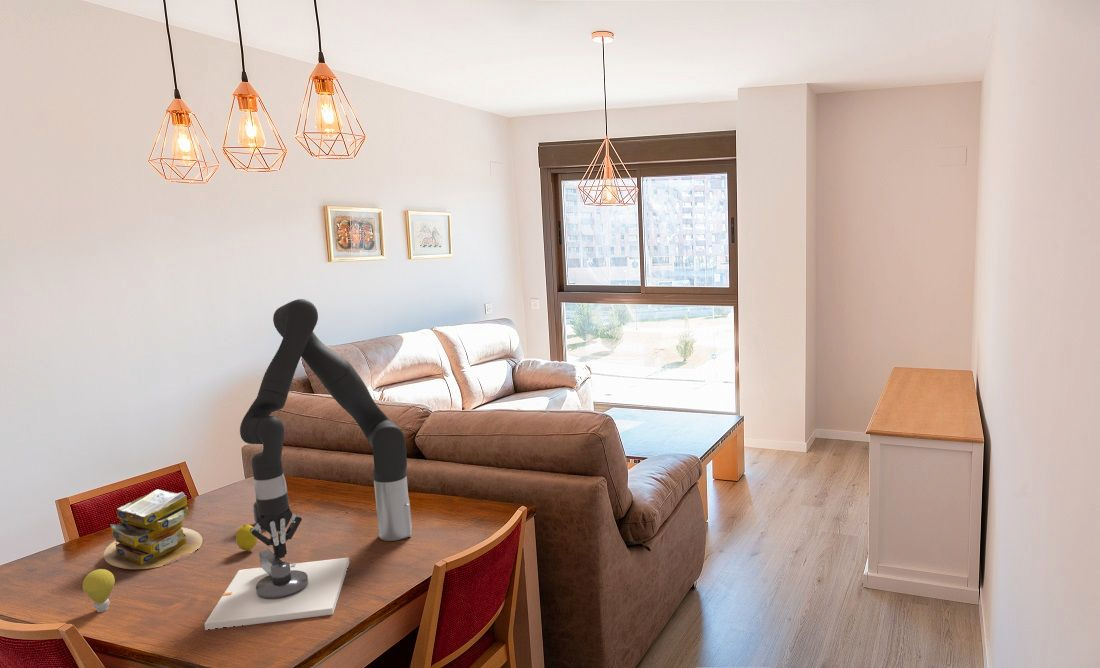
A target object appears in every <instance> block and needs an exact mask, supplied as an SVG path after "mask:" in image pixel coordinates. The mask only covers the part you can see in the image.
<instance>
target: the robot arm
mask: <svg viewBox="0 0 1100 668" xmlns="http://www.w3.org/2000/svg"><path fill="white" fill-rule="evenodd" d="M272 319H273V320H272V321H273V325H274V327H275V329H276V331H277V333H278V334H279V335H280V337H282V340H281V343H280V345H279V347H278V349H277V351H276V352H275V354H274V356H273V357H272V359H271V360H270V363H269V365H268V366H267V368H266V369H265V370H266V371H265V372H264V375H263V377H262V380H261V382H260V386H259V389H258V393H257V396H256V398H255V400H254V401H253V402H252V404H250V407H249V409H248V410H247V412H246V413H245V415H244V417H243V418H242V420H241V423H240V427H239V435H240V439H241V440H242V441H243V442H244V443H246V444H249V445H262V447H263V449H262V451H261V452H259V453H256V454H254V455H253V457H251V468H252V473H253V481H254V482H253V483H254V484H253V488H254V494H255V502H257V509H258V520H257V525H256V524H255V526H253V527H254V528H251V529H250V532H251V533H252V534H253V535H254V536H255V537H256V538H257V540H259V541H261V542H262V543H263V544H265V545H266V546H268V547H270V546H272V548H273V549H272V550H273V553H274V554H275V555H276V556H277V557H278V558H279V559H280V560H281V559H283V558H285V557H286V556H285V555H287V553H288V552H287V544H286V543H287V541H288V540H291V539H292V538H293V536H294V535H295V533H296V531H297V530H298V527H299V526H300V524H301V522H302V520H303V519H302V517H301V516H300V515H298V514H294V513H293V511H292V510H291V508H290V501H289V495H288V494H289V493H288V486H287V481H286V477H285V475H284V474H285V473H284V469H283V468H284V467H283V463H282V453H283V447H284V446H283V445H284V439H285V427H284V423H283V421H281V419H280V418H279V417H277V416H275V415H274V416H273V415H271V414H273V413H274V412H277V411H279V410H282V409H284V407H285V405H286V402H287V399H288V397H289V391H290V389H291V385H292V382H293V379H294V376H295V373H296V371H297V368H298V365H299V363H300V360H301V358H302V359H303V361H304V362H305V363H306V365H307V366H308V368H310V370H311V371H312V372H313V373H314V375H315V376H316V377H317V379H319V381H320V382H321V384H322V385H323V387H324V388H325V389H326V390H327V392H328V394H330V395H331V397H332V398H333V399H334V401H336V403H338V404H339V406H340V407H342V408H343V410H345V412H347V414H349V415H350V416H351V417H352V418H353V419H354V421H355V422H356V423H357V425H358V426H359V428H360V429H361V431H362V433H363V435H364V436H365V438H366V439H367V441H368V444H369V445H370V447H371V448H372V455H373V456H372V457H373V470H372V473H373V474H372V475H373V487H374V496H375V497H374V498H375V506H376V517H377V527H378V538H379V539H380V540H382V541H386V542H387V541H388V542H391V541H392V542H394V541H399V540H403V539H406V538H409V537H410V538H411V537H412V532H413V524H412V514H411V502H410V498H409V492H408V491H409V489H408V477H407V467H408V463H407V462H408V461H407V460H408V458H407V446H406V445H407V444H406V438H405V435H404V432H403V430H402V429H401V428H400V427H399V426H398V425H397V424H396V423H394V422H393V421H392V420H391V419H390V418H389V417H388V416H387V415H386V414H385V413H384V412H383V411H382V409H381V408H380V407H379V406H378V405H377V403H376V402H375V400H374V399H373V397H372V394H371V392H370V390H369V389H368V387H367V385H366V384H365V382H364V381H363V379H362V378H361V376H360V375H359V374H358V372H357V371H356V369H355V368H354V366H353V365H352V364H351V363H350V362H349V361H348V360H347V358H344V357H343V356H342V355H340V354H339V353H338V352H336V351H334V350H333V349H331V348H329V347H328V346H327V345H325V343H323V341H321V340H320V339H319V338H318V337H317V335H316V334H315V332H314V330H315V328H316V325H317V324H318V320H319V313H318V310H317V308H316V306H315V305H314V303H313V302H311V301H310V300H308V299H305V298H300V299H299V298H297V299H295V300H292V301H289V302H288V303H286V304H284V305H282V306H280V307H278V308H277V309H276V310H275V311H274V313H273V318H272ZM288 525H289V526H288ZM287 527H288V528H287ZM261 528H262V529H264V530H265V532H266V533H268V534H269V537H270V538H268V537H267V536H265V535H264V534H263V533H262V531H263V530H262V529H261ZM286 528H287V530H286Z"/></svg>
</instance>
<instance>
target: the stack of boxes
mask: <svg viewBox="0 0 1100 668" xmlns="http://www.w3.org/2000/svg"><path fill="white" fill-rule="evenodd" d="M187 497H188V496H187V495H185V493H184V492H183V491H181V492H178V493H177V492H173V491H167V490H163V489H155V490H153V491H151V492H149V493H148V494H145V495H143V496H140V497H139V498H136V499H134V500H133V501H130V502H128V503H126V504H125V505H121V506H120V507H117V508H116V513H117V516H116V517H117V519H119V521H120V523H119V522H118V523H116V524H114V523H113V524H111V523H110V524H109V525H110V528H111V530H110V531H111V538H114V540H113V542H111V543H110V544H109V545H107V547H106V548H105V550H104V552H103V558H104V560H105V561H106V562H105V563H108V564H109V565H110V566H113V567H115V568H121V569H126V570H147V569H154V568H158V567H159V568H160V567H164V566H163V565H164V564H165V563H166V562H169V561H171V560H173V559H175V558H177V557H178V558H179V557H180V556H181V555H184V554H187V553H192V552H193V551H195V550H197V549H198V550H199V549H200V548H201V546H202V545H203V542H204V541H203V536H202V535H201V534H200V533H199V532H198V531H197V530H193V529H190V528H187V527H183V522H184V521H185V519H187V518H188V517H189V507H187V504H188V502H187V501H188V499H187ZM198 550H197V551H198Z"/></svg>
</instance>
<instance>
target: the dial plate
mask: <svg viewBox="0 0 1100 668" xmlns="http://www.w3.org/2000/svg"><path fill="white" fill-rule="evenodd" d="M349 566H350V557H342V558H333V559H324V560H314V561H307V562H305V561H304V562H292V563H290V570H298V571H303V572H305V573H306V574H307V575H308V585H307V586H306V587H305V588H304V589H303V590H301V591H300V592H298V593H296V594H293V595H290V596H287V597H283V598H277V599H265V598H261V597H259V596H258V595H257V593H256V584H257V583H258V582H259V581H260V580H261V579H263V578H265V577H267V576H269V575H268V574H267V573H266V572H265V571H264V570H263V569H262V568H261V566H260V567H253V568H252V567H251V568H245V569H239V570H238V571H237V573H236V574H235V576H234V577H233V579H232V581H230V583H229V585H228V586H227V588H226V589H225V591H224V592H223V594H222V596H221V597H220V598H219V601H218V602H217V604H216V605H215V607H214V608H213V610H212V612H211V613H210V614H209V616H208V618H207V619H206V620H205V622H204V631H209V630H208V629H210V630H216V629H215V628H218V629H224V628H223V627H227V628H233V626H235V627H241V626H242V625H243V626H249V625H257V624H259V625H260V624H267V623H275V622H283V621H289V620H291V621H292V620H298V619H307V618H315V617H323V616H332V615H334V612H335V609H336V605H337V602H338V600H339V596H340V593H341V591H342V588H343V584H344V581H345V578H346V575H347V572H346V571H348V569H347V568H349Z"/></svg>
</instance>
